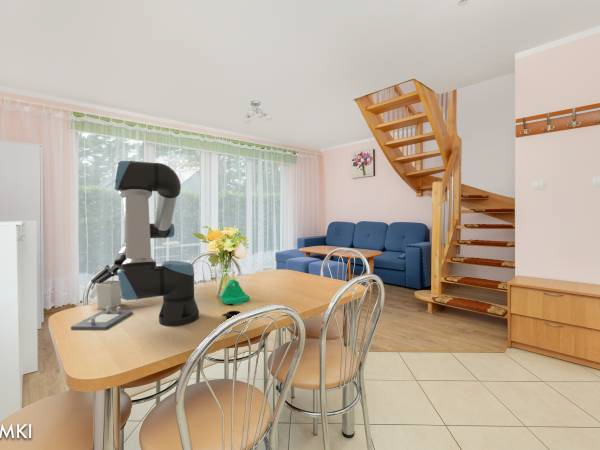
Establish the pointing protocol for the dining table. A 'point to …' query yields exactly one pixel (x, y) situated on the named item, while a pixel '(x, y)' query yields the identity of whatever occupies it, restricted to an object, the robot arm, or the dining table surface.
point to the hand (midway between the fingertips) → (106, 297)
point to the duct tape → (230, 314)
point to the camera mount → (233, 293)
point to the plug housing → (108, 294)
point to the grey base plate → (102, 319)
